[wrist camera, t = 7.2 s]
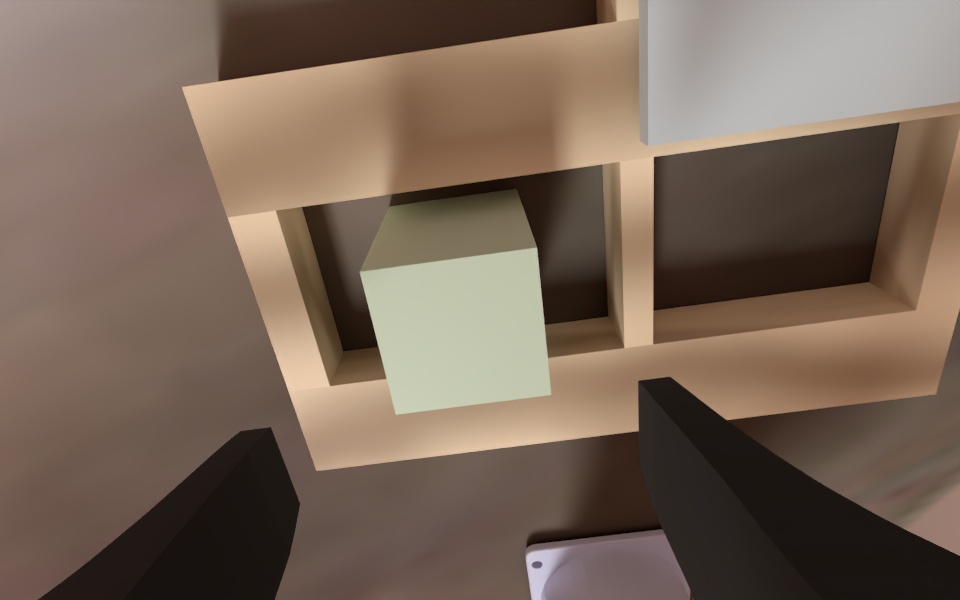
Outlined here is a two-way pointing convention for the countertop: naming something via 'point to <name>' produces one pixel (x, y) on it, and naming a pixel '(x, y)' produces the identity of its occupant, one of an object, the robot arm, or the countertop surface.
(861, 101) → the lid
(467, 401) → the block
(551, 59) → the puzzle board
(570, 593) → the robot arm
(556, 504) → the countertop surface
